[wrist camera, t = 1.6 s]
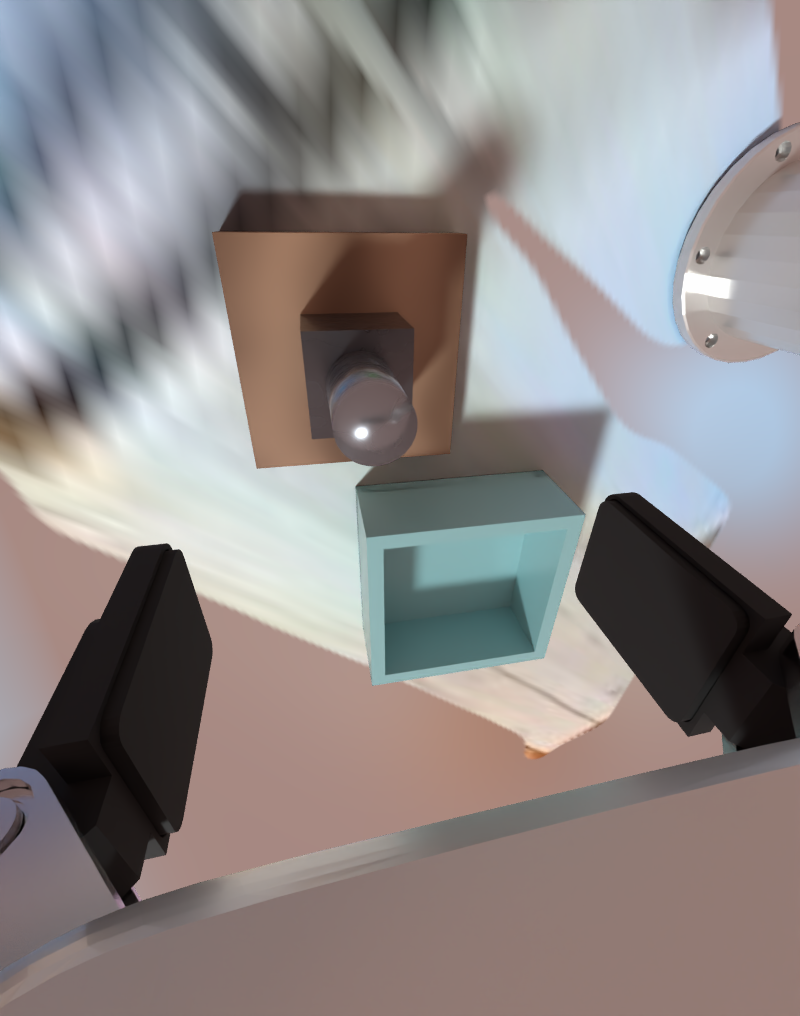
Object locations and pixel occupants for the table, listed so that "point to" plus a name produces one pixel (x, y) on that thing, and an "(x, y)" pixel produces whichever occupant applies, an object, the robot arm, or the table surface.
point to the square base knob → (360, 383)
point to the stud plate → (327, 290)
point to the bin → (462, 571)
